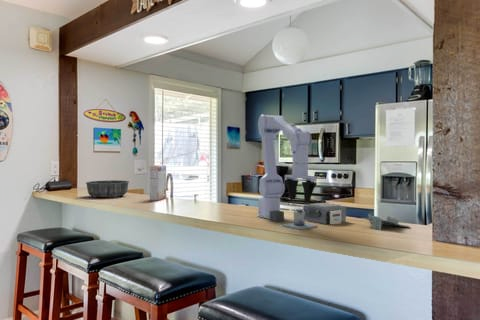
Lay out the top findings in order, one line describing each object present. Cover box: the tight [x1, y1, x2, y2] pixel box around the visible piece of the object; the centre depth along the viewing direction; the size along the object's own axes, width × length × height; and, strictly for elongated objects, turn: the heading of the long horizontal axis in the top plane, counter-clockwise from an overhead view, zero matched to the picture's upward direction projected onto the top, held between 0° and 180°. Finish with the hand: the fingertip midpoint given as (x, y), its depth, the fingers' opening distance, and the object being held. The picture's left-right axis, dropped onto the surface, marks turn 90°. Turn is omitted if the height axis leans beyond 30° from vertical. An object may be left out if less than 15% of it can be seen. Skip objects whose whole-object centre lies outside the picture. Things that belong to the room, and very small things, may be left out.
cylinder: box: [293, 208, 306, 226], centre depth 134 cm, size 4×4×6 cm
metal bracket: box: [363, 213, 411, 231], centre depth 135 cm, size 14×6×15 cm
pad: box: [282, 222, 318, 231], centre depth 134 cm, size 9×9×1 cm
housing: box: [302, 202, 347, 225], centre depth 148 cm, size 12×13×7 cm
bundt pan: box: [85, 179, 130, 198], centre depth 234 cm, size 26×26×10 cm
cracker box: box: [149, 164, 167, 202], centre depth 220 cm, size 14×6×21 cm, turn 172°
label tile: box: [329, 210, 342, 225], centre depth 141 cm, size 1×6×5 cm, turn 126°
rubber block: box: [269, 210, 285, 223], centre depth 146 cm, size 4×4×4 cm
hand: (299, 200), depth 134 cm, fingers open, 7 cm apart
